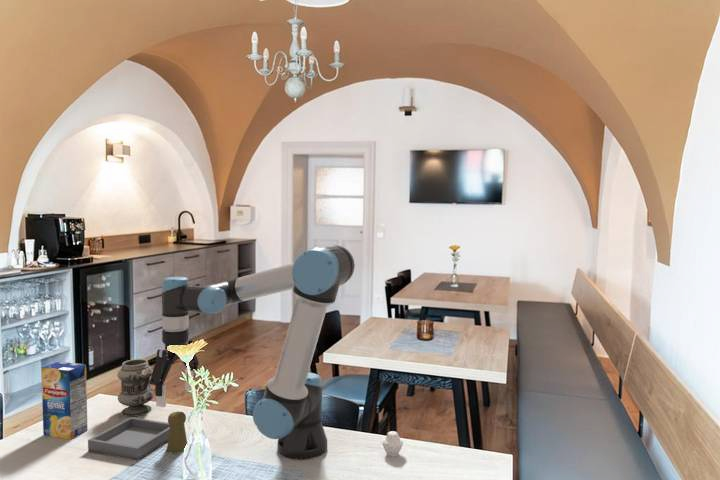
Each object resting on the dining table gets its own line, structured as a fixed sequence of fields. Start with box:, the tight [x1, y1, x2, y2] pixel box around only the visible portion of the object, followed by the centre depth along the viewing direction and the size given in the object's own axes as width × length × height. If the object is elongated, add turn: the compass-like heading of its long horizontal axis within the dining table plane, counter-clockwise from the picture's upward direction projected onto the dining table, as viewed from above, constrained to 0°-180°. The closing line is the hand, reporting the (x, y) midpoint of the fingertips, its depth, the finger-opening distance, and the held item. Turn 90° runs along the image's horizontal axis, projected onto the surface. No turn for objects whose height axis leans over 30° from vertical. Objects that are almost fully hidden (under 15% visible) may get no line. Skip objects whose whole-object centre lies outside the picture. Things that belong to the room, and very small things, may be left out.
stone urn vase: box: [116, 358, 155, 417], centre depth 188 cm, size 12×12×18 cm
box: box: [87, 416, 170, 461], centre depth 164 cm, size 18×18×4 cm
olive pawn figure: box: [166, 411, 188, 454], centre depth 160 cm, size 6×6×11 cm
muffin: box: [381, 430, 404, 457], centre depth 158 cm, size 6×6×7 cm
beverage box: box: [40, 361, 89, 440], centre depth 170 cm, size 7×11×22 cm, turn 74°
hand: (175, 398), depth 160 cm, fingers open, 13 cm apart
